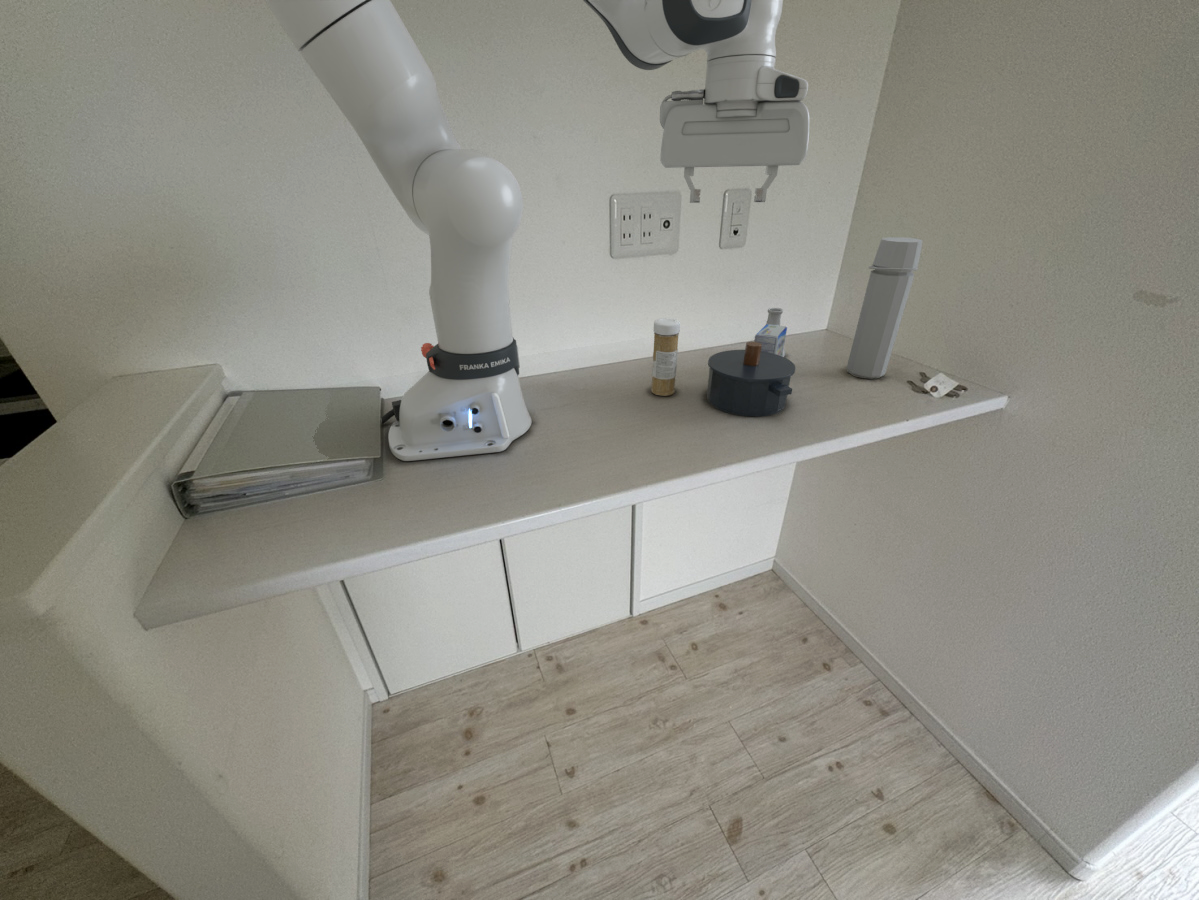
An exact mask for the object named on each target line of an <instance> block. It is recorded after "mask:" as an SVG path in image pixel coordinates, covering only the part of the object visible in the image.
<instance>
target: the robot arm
mask: <svg viewBox="0 0 1199 900" xmlns="http://www.w3.org/2000/svg"><path fill="white" fill-rule="evenodd" d="M264 1H265V2H266V4H267V6H268V7H269V9H270V11H271V12H272V14H273V15H274V17H275V18H276V20H277V21H278V23H279V24H280V27H281V28H282V29H283V31H284V32H285V34H286V35H287V37H288V38H289V39H290V41H291V43H292V44H293V46H295V48H296V50H297V51H298V52H299V54H300V55H301V56H302V58H303V59H304V61H305V63H306V64H307V65H308V66H309V68H310V69H311V71H312V72H313V73H314V75H315V76H316V77H317V79H318V81H319V82H320V83H321V85H322V87H324V89H325V90H326V92H327V93H328V95H329V96H330V97H331V99H332V100H333V101H334V103H335V104H336V106H337V107H338V108H339V110H340V111H341V112H342V114H343V116H344V117H345V119H346V120H347V121H348V123H349V124H350V125H351V127H352V129H353V130H354V131H355V133H356V134H357V136H358V138H359V139H360V141H361V142H362V144H363V145H364V147H365V149H366V150H367V153H368V154H369V156H370V158H371V160H372V161H373V162H374V164H375V166H376V168H377V169H378V171H379V173H380V174H381V176H382V178H383V179H384V181H385V182H386V184H387V186H388V187H389V189H390V190H391V193H393V195H394V196H395V198H396V199H397V201H398V203H399V204H400V206H401V207H402V209H403V210H404V212H405V213H406V215H407V217H408V218H409V219H410V220H411V222H412V223H413V224H414V225H415V227H417V228H418V229H419V231H421V232H423V233H424V234H426V235H428V238H429V245H430V285H429V289H428V296H429V300H430V307H431V312H432V317H433V323H434V329H435V334H436V340H437V344H435V345H432V343H430V342H425V343H423V344H422V345H421V347H420V351H421V354H422V356H423V358H425V359H426V360H425V361H426V364H427V369H428V371H427V372H426V373H425V374H423V376H422V377H421V378H419V380H417V381H416V382H415V383H414V384H413V385H412V386H411V387H410V388H408V389H407V391H405V393H404V394H403V396H402V397H401V399H399V400H394V401H391V406H392V409H391V410H389V411H387V413H384V415H383V416H381V418H382V423H381V424H382V425H384V424H386V422H388V421H389V420H390V419H392V417H394V418H395V419H396V420H395V421H393V423H392V424H391V426H390V428H389V429H388V435H387V437H388V438H387V439H388V445H389V450H390V452H391V453H392V455H393V456H394V457H395V458H397V459H398V460H400V461H402V462H411V461H412V462H413V461H424V460H432V459H443V458H444V459H445V458H453V457H462V456H473V455H482V454H492V453H500V452H503V451H505V450H506V449H508V448H509V447H510V445H511V444H512V442H514V441H515V440H516V439H518V438H520V437H521V436H523V435H524V434H526V433H527V431H528V430H529V429H531V426H532V417H531V415H530V413H529V410H528V408H527V405H526V402H525V398H524V395H523V390H522V387H521V383H520V377H519V376H520V356H519V355H520V354H519V347H518V345H517V340H516V339H515V337H514V335H513V333H514V332H513V324H512V314H511V313H512V312H511V302H510V270H511V262H512V261H511V260H512V252H513V243H514V237H515V234H516V232H517V230H518V229H519V227H520V224H521V222H522V218H523V213H524V200H523V199H524V198H523V193H522V189H521V187H520V184H519V182H518V180H517V178H516V176H515V175H514V174H513V173H512V171H511V170H510V169H509V168H508V167H507V166H506V165H505V164H503V163H502V162H500V161H499V160H497V159H496V158H494V157H493V156H491V155H489V154H487V153H485V152H483V151H480V150H478V149H473V148H462V146H461V145H460V144H459V142H458V141H457V139H456V137H455V134H454V132H453V129H452V126H451V125H450V122H449V120H448V117H447V115H446V112H445V110H444V107H443V104H442V101H441V99H440V96H439V92H438V88H437V83H436V82H437V81H436V79H435V76H434V73H433V72H432V71H431V68H430V67H429V65H428V63H427V62H426V60H425V58H424V56H423V54H422V53H421V51H420V49H419V47H418V45H417V44H416V43H415V40H414V39H413V37H412V36H411V34H410V32H409V30H408V28H407V27H406V25H405V23H404V21H403V19H402V18H401V16H400V14H399V13H398V11H397V9H396V7H395V6H394V4H393V2H392V0H264ZM582 1H583V2H584V3H585V4H586V5H587V6H588V8H590V9H591V10H592V11H593V12H594V13H595V14H596V15H597V16H598V17H599V18H600V19H601V20H602V22H603V23H604V25H605V26H606V27H607V29H608V30H609V32H610V35H611V36H612V38H613V40H614V42H615V45H617V47H618V49H619V52H621V54H622V55H623V56H624V58H625V59H626V61H627V62H629V63H630V64H631V65H633V66H634V67H636V68H638V69H640V70H643V71H652V70H653V71H655V70H658V69H660V68H662V67H663V66H665V65H668V64H669V63H670V62H671V63H672V62H673V61H674V60H677V59H680V58H683V57H686V56H689V55H690V54H692V53H695V52H697V51H700V50H703V51H705V52H706V57H707V59H706V69H705V70H706V71H705V81H704V82H705V83H704V89H691V90H687V91H682V90H673V91H671V94H669V95H667V96H665V97H664V99H663V100H662V101H661V104H660V107H659V123H660V126H661V128H662V129H663V132H662V138H661V147H660V157H659V158H660V164H661V165H662V166H663V167H664V168H665V169H671V168H672V169H675V168H676V169H677V168H680V169H681V168H684V169H683V170H684V171H683V178H684V180H685V182H686V184H687V186H688V189H689V190H690V192H689V193H690V195H689V203H690V204H700V202H701V197H700V196H701V190H702V189H701V188H696V187H695V185H694V183H693V181H692V179H691V178H692V177H694V174H695V168H727V167H733V168H734V167H765V175H766V176H767V177H766V180H765V181H764V182H763V184H762V186H761V187H759V188H758V187H756V188H755V189H754V194H755V195H754V197H753V202H754V203H765V202H766V199H767V194H768V193H767V192H768V189H769V188H770V186H771V185H772V183H773V182H774V180H775V179H776V177H777V176H778V170H779V167H780V166H782V167H783V166H800V165H801V164H802V163H803V162H804V161H805V159H806V158H807V155H808V150H809V142H810V141H809V140H810V125H811V122H810V120H811V119H810V117H811V116H810V110H809V108H808V106H807V105H806V104H805V103H804V102H802V101H803V100H804V99H805V98H806V97H807V94H808V91H809V82H808V80H806V79H805V78H802V77H799V76H797V75H795V74H791V73H787V72H786V71H785V72H784V71H783V70H779V69H777V68H775V67H776V61H777V48H776V35H777V29H778V26H779V23H780V20H781V17H782V14H783V13H782V12H783V4H784V0H582ZM670 99H671V100H670Z"/></svg>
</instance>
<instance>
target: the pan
mask: <svg viewBox="0 0 1199 900" xmlns="http://www.w3.org/2000/svg"><path fill="white" fill-rule="evenodd" d="M791 378H792V376H791V377H789V378H786V379H783V380H779V381H773V382H749V381H741V380H736V379H731V378H728V377H725V376H722V375H720V374H717V373H716V372H714V371H713V370H711V369H710V368H709V371H708V379H707V380H708V381H707V389H706V396H707V397H706V398H707V401H708V403H709V404H710V405H711V406H712V407H714V408H715V409H717V410H719V411H721V412H724V413H726V414H730V415H735V416H741V417H754V418H755V417H759V418H760V417H768V416H772V415H776V414H778V413H780V412H782V411H783V410H784V409H785V407H786V404H787V399H788V396H789V395H792V393H793V388H792V387H790V383H791Z"/></svg>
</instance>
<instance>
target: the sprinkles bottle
mask: <svg viewBox="0 0 1199 900" xmlns="http://www.w3.org/2000/svg"><path fill="white" fill-rule="evenodd" d="M680 331H681V322H680V320H678V319H676V318H671V317H662V318H657V319H655V320H654V322H653V336H654V337H653V352H652V353H653V354H652V366H651V367H652V369H651V377H652V379H651V389H650V391H651V393H652V394H653V395H656V396H663V397H666V396H671V395H673V394H675V392H676V389H675V387H676V376H677V367H678V366H677V363H678V351H679V349H678V345H679V335H680Z"/></svg>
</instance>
